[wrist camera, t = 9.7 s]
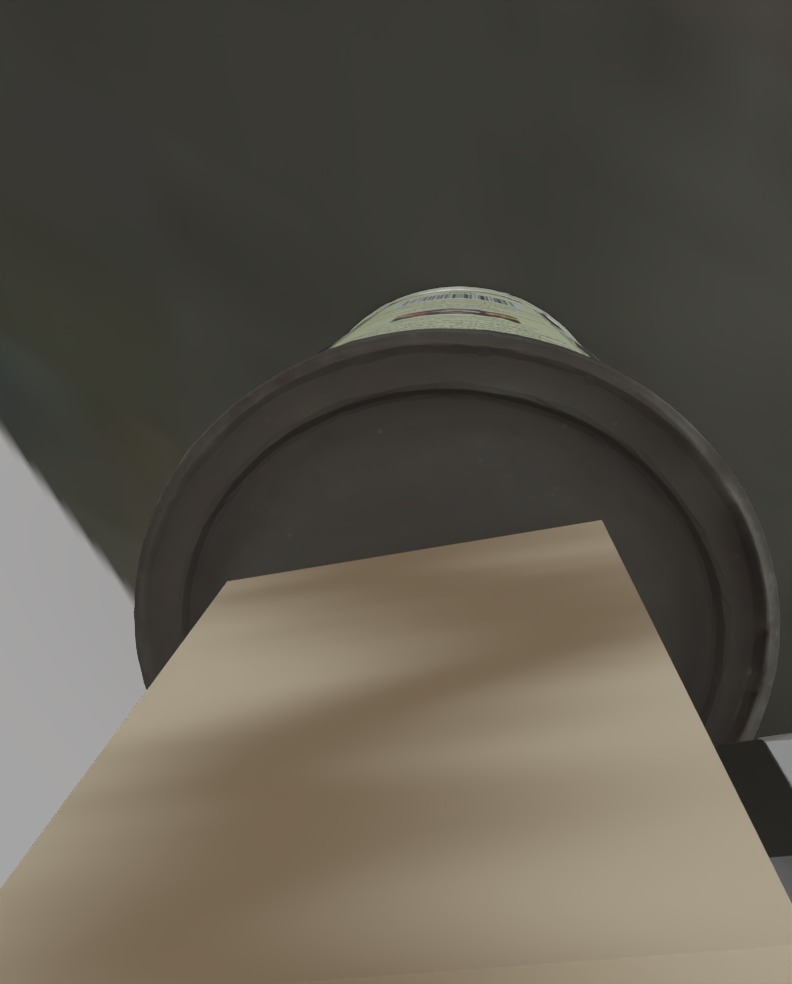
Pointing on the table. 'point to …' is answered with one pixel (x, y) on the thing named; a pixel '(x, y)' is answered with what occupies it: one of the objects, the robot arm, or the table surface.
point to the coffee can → (470, 484)
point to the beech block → (408, 794)
